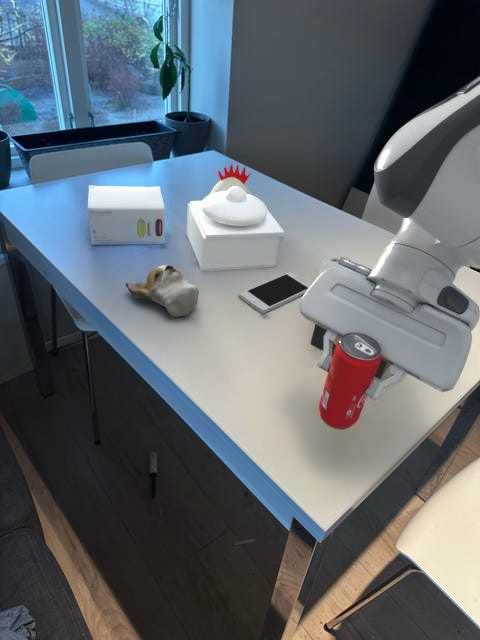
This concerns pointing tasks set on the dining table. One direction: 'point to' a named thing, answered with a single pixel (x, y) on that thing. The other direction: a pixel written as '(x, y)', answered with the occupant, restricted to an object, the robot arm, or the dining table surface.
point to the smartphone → (275, 292)
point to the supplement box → (126, 215)
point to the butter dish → (232, 232)
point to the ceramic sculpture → (167, 290)
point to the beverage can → (349, 379)
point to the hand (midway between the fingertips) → (346, 383)
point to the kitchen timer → (232, 180)
